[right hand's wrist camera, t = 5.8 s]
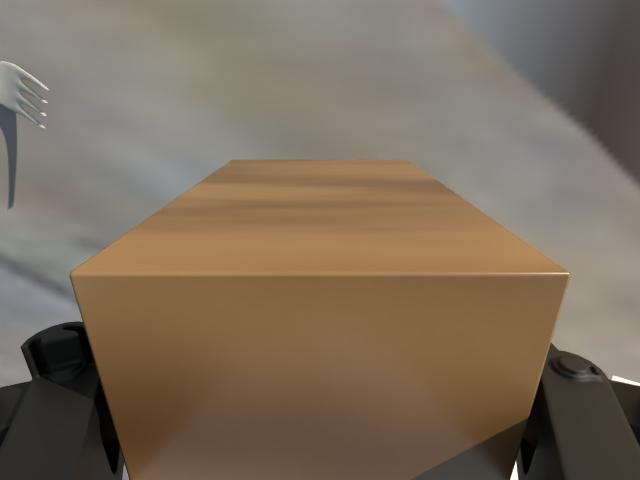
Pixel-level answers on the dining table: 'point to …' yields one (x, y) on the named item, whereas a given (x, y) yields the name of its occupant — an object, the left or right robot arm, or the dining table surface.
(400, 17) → the dining table surface
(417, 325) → the block
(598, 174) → the dining table surface
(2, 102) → the fork
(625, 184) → the dining table surface
